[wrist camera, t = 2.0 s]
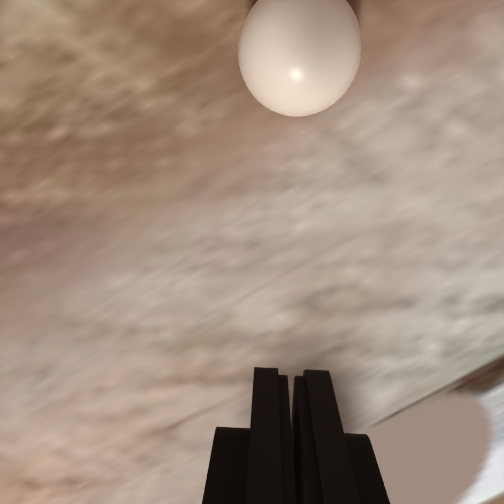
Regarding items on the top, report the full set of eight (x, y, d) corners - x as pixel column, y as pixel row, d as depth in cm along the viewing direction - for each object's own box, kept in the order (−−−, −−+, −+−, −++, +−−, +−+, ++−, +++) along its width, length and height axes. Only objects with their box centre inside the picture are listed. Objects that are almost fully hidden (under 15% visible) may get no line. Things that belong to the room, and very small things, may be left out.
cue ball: (372, 62, 22) (403, 43, 16) (292, 139, 23) (296, 144, 18) (300, -27, 21) (308, -78, 15) (220, 59, 22) (203, 39, 17)
